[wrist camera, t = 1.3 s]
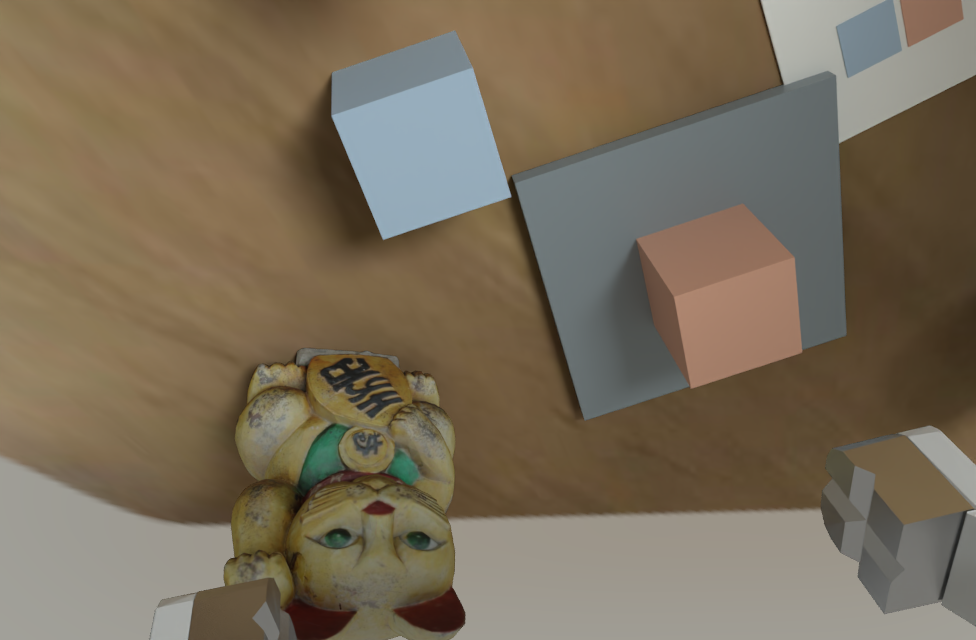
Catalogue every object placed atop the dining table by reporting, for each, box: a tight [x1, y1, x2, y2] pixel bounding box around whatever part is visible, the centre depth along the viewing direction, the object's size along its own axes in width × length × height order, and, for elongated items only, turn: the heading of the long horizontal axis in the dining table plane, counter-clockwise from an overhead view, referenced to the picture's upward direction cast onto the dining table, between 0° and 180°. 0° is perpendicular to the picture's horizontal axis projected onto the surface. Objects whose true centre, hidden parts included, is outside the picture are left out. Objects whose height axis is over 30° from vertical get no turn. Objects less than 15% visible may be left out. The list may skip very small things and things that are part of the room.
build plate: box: [512, 71, 846, 420], centre depth 39 cm, size 14×14×1 cm
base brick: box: [636, 204, 802, 389], centre depth 36 cm, size 5×5×5 cm
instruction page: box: [760, 0, 976, 143], centre depth 34 cm, size 10×8×1 cm
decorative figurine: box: [224, 348, 465, 640], centre depth 34 cm, size 10×8×15 cm
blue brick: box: [331, 31, 511, 240], centre depth 31 cm, size 5×5×5 cm
